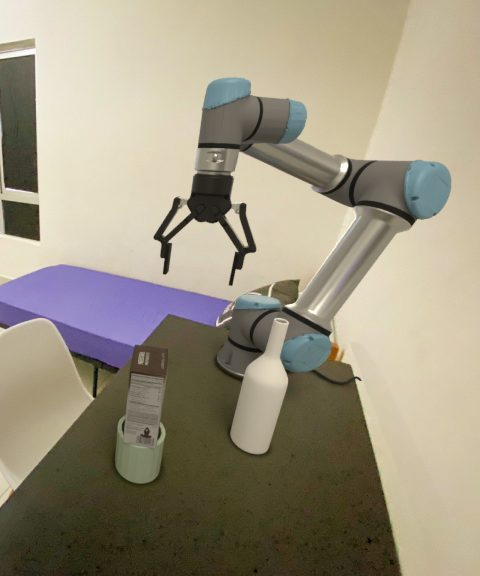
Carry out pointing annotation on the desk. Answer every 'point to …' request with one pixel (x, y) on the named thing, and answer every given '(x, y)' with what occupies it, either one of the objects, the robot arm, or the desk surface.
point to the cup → (138, 457)
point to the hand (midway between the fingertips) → (197, 278)
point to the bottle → (261, 395)
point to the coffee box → (145, 395)
